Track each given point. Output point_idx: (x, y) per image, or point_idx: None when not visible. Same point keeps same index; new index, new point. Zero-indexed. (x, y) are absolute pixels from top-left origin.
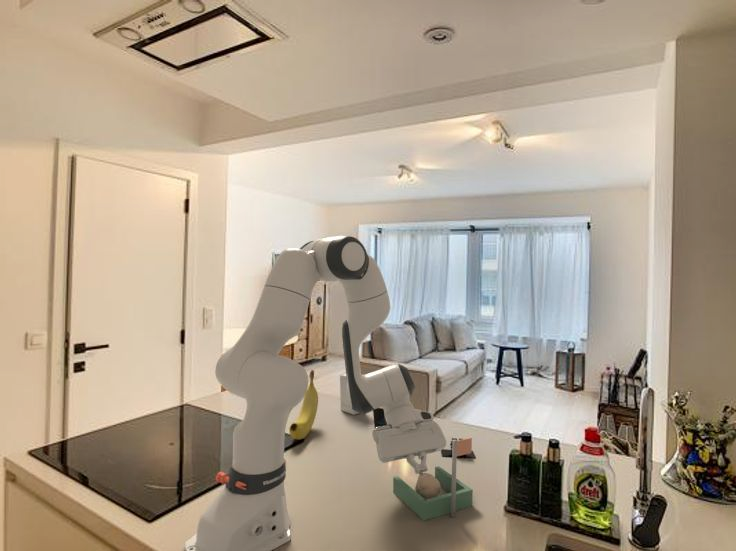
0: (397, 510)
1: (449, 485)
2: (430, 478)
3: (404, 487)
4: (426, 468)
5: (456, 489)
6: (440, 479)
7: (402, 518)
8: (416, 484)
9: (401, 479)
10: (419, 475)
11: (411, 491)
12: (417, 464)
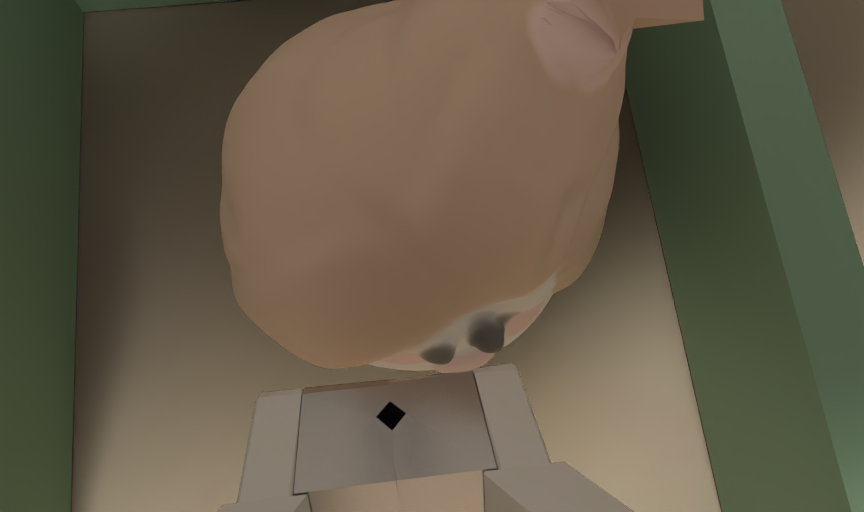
0: (837, 145)
1: (26, 251)
2: (430, 4)
3: (827, 188)
4: (285, 397)
5: (24, 100)
6: (21, 480)
7: (823, 15)
8: (600, 222)
9: (825, 412)
10: (554, 225)
11: (773, 31)
12: (514, 461)
